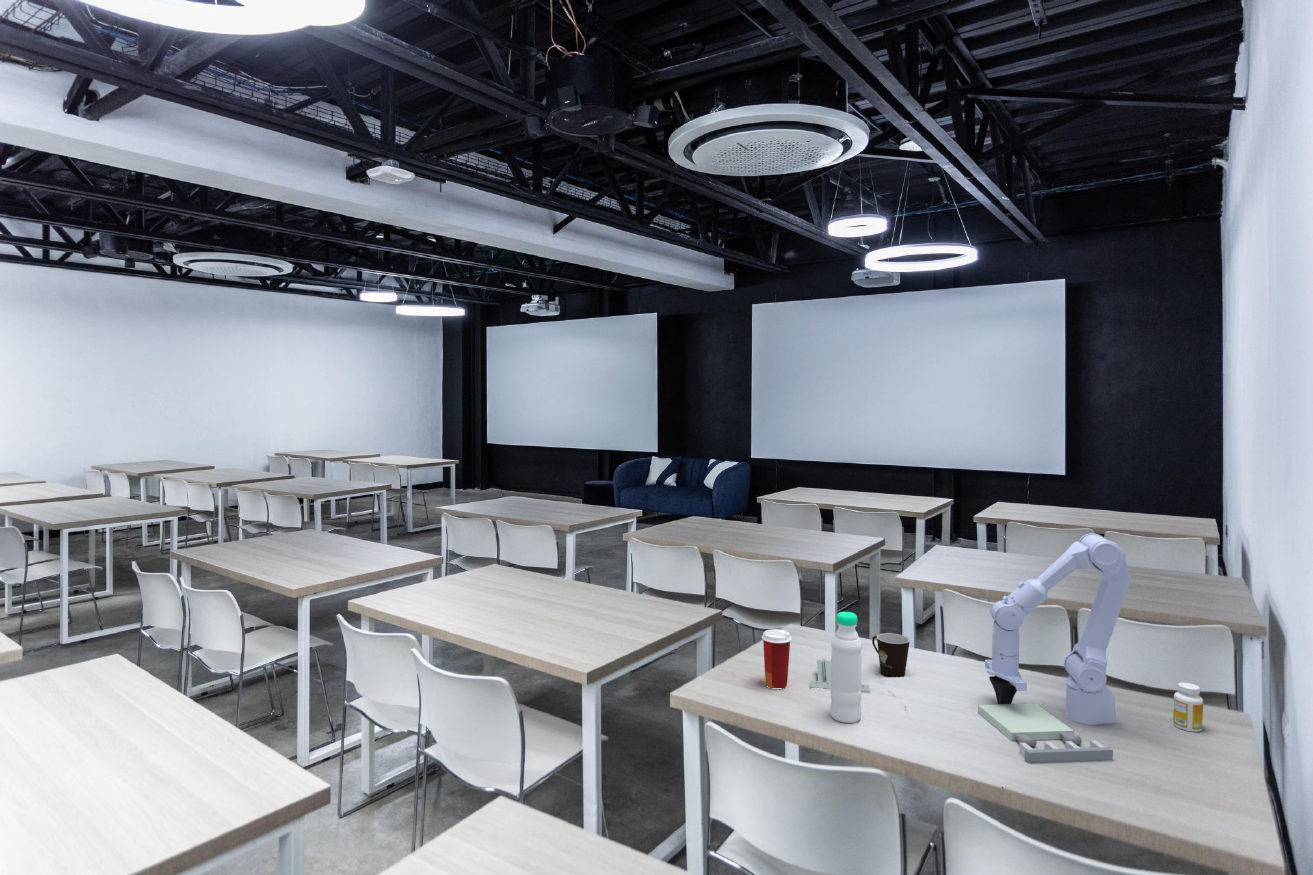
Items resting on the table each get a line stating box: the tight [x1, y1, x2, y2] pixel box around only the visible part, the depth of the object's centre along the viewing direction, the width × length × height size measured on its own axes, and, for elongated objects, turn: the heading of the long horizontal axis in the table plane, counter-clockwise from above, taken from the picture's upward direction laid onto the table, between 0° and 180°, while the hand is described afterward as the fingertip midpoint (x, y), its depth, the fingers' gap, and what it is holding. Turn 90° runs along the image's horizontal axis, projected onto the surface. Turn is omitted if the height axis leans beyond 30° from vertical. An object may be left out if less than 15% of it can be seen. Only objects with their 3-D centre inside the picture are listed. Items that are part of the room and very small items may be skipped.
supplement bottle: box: [1172, 682, 1204, 733], centre depth 162 cm, size 5×5×10 cm
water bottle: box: [829, 611, 863, 724], centre depth 167 cm, size 7×7×25 cm
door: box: [977, 702, 1083, 747], centre depth 158 cm, size 14×17×2 cm
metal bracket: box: [809, 657, 871, 694], centre depth 189 cm, size 14×6×15 cm
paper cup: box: [761, 628, 792, 689], centre depth 186 cm, size 8×8×14 cm
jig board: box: [1018, 739, 1114, 764], centre depth 157 cm, size 18×26×4 cm
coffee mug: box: [871, 632, 911, 679], centre depth 195 cm, size 12×9×10 cm
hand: (1004, 708), depth 168 cm, fingers closed
